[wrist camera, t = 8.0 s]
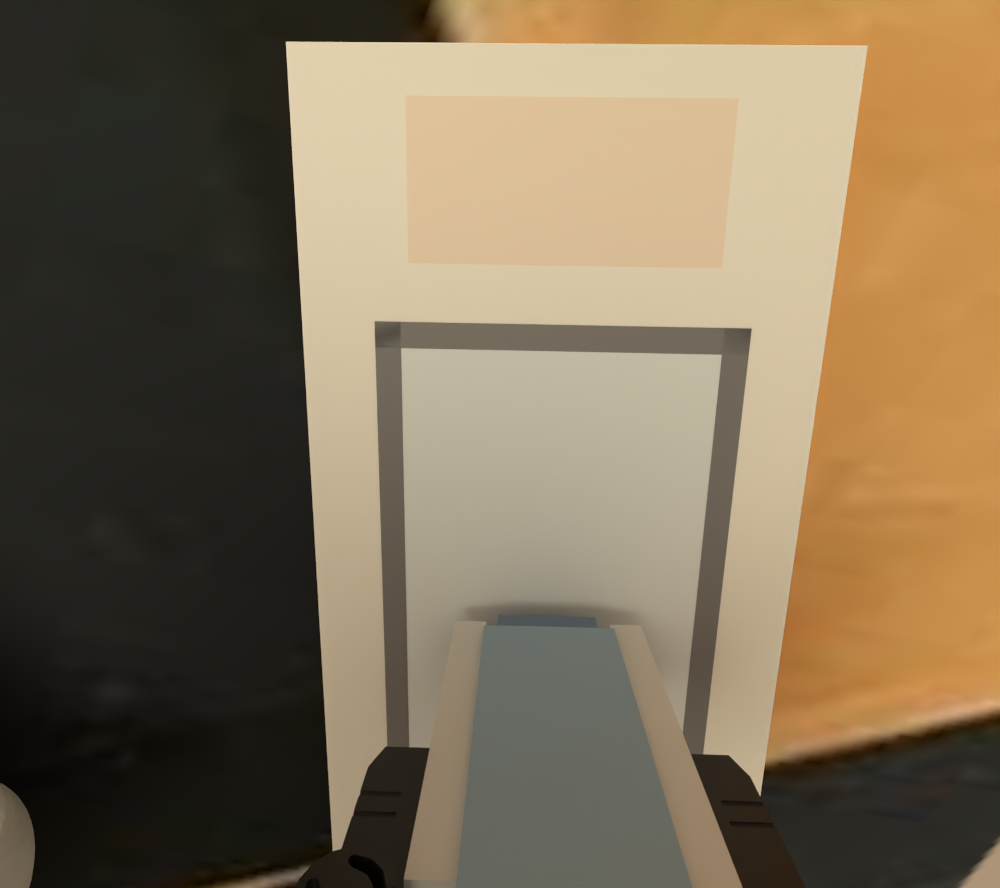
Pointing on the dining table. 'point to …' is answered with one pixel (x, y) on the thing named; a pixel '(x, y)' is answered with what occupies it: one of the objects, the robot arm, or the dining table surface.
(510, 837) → the square grey prism
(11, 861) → the mug
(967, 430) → the dining table surface
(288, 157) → the dining table surface
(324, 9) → the dining table surface
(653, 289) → the sheet
